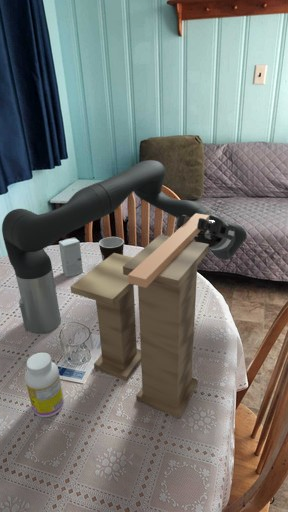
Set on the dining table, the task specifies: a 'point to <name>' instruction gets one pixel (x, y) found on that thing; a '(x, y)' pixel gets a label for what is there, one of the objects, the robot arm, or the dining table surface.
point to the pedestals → (148, 323)
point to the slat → (165, 253)
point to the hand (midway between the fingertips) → (191, 221)
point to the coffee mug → (111, 246)
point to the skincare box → (71, 257)
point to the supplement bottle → (44, 385)
